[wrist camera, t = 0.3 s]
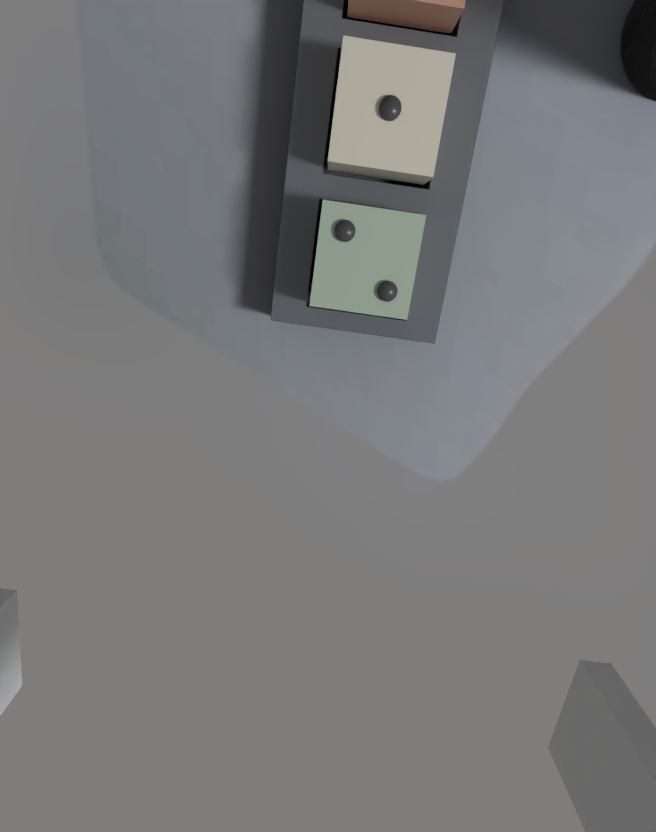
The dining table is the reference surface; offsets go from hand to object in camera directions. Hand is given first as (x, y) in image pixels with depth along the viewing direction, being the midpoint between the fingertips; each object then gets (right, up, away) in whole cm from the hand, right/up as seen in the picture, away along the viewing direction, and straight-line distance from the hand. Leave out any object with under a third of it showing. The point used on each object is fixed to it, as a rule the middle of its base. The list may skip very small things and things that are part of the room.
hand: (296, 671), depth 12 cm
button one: (+4, +24, +18) cm, 30 cm away
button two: (+3, +16, +21) cm, 26 cm away
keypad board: (+4, +24, +20) cm, 32 cm away
